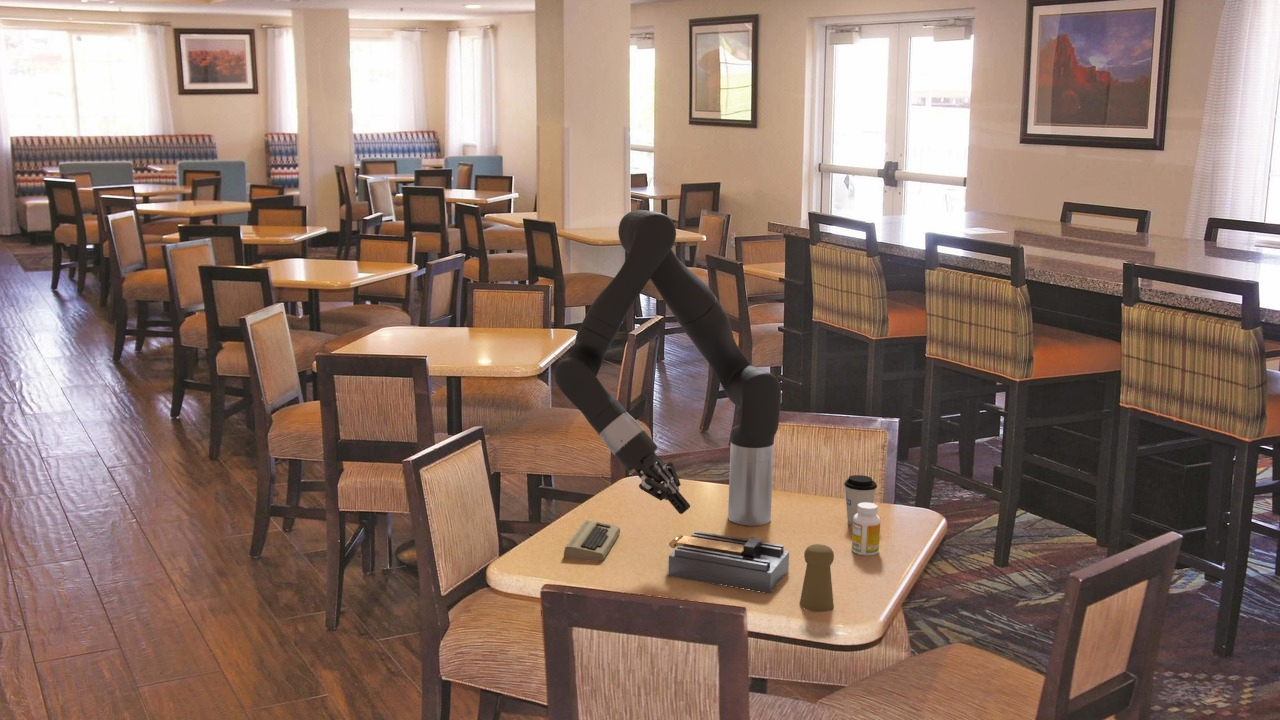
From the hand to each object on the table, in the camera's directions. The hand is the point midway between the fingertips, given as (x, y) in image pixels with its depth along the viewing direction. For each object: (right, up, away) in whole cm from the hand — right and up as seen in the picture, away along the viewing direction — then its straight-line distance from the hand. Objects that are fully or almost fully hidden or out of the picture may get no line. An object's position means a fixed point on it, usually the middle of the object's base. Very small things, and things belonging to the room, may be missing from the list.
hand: (685, 510), depth 224 cm
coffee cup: (+38, -6, +28) cm, 48 cm away
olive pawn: (+23, -15, -15) cm, 31 cm away
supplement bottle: (+36, -10, +12) cm, 40 cm away
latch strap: (+4, -7, 0) cm, 9 cm away
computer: (-18, -9, +12) cm, 24 cm away
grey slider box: (+8, -12, -1) cm, 14 cm away
